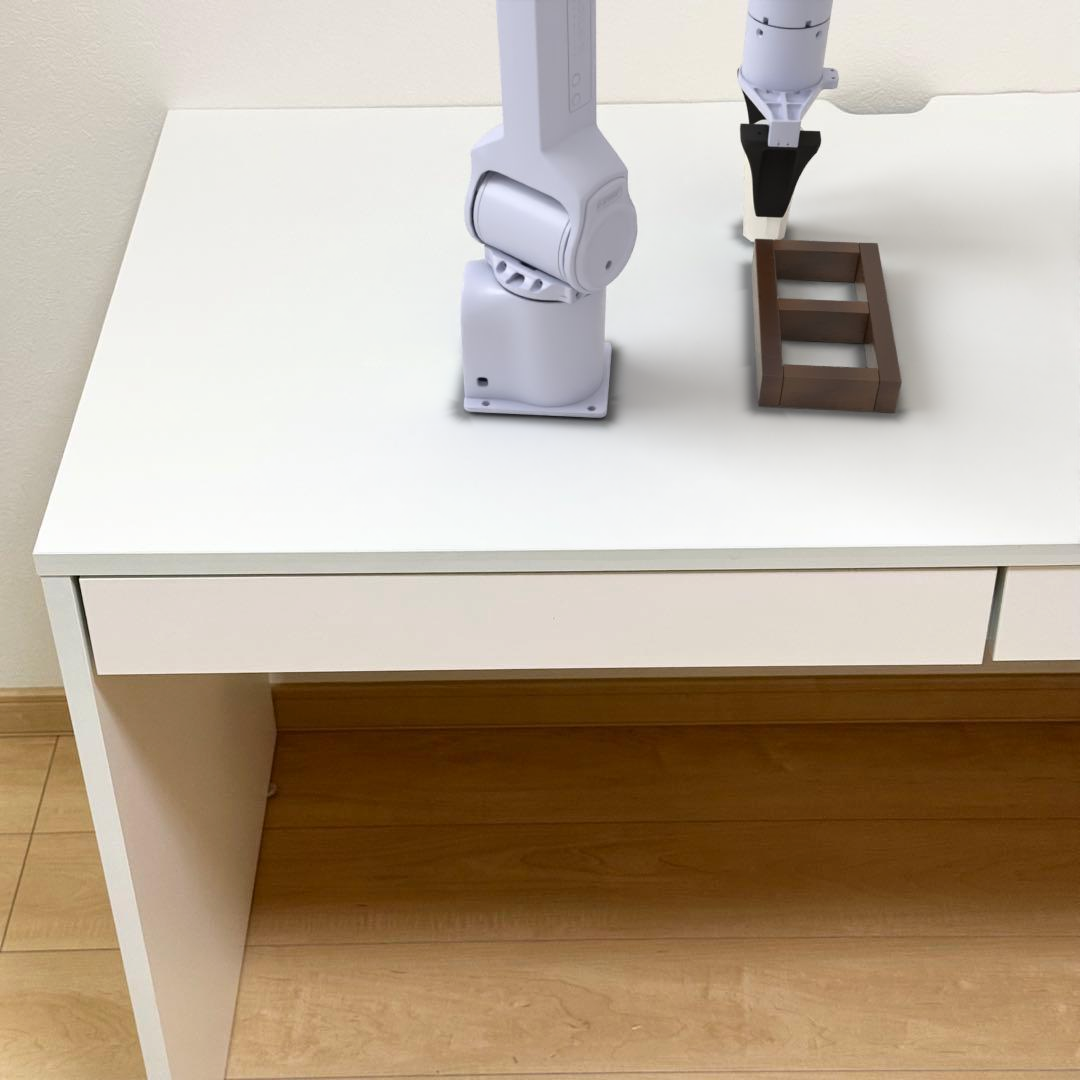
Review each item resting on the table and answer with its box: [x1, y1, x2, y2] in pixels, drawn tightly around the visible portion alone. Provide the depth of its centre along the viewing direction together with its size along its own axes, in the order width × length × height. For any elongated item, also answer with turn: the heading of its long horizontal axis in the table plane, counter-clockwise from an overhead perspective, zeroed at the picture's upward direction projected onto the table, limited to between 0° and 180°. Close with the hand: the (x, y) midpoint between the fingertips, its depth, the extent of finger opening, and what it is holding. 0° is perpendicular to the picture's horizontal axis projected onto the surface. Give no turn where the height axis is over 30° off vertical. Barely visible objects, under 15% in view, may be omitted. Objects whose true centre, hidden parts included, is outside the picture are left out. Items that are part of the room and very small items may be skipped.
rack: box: [750, 239, 903, 414], centre depth 95 cm, size 9×17×3 cm, turn 175°
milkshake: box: [742, 120, 805, 243], centre depth 102 cm, size 5×5×10 cm
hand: (767, 188), depth 103 cm, fingers open, 7 cm apart
